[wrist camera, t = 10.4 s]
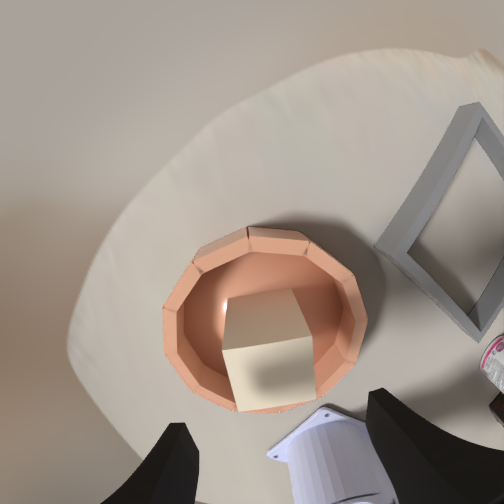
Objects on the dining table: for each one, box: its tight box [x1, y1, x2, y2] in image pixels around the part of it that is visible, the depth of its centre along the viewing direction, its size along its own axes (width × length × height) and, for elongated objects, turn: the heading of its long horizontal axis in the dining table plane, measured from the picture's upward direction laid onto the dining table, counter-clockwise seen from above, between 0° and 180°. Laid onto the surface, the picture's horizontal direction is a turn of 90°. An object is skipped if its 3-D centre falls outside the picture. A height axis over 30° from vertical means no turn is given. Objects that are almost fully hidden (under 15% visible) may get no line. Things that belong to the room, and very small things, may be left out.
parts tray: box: [374, 102, 504, 343], centre depth 17 cm, size 14×14×2 cm
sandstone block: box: [222, 288, 316, 412], centre depth 16 cm, size 4×4×6 cm
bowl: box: [163, 227, 368, 413], centre depth 18 cm, size 12×12×3 cm
